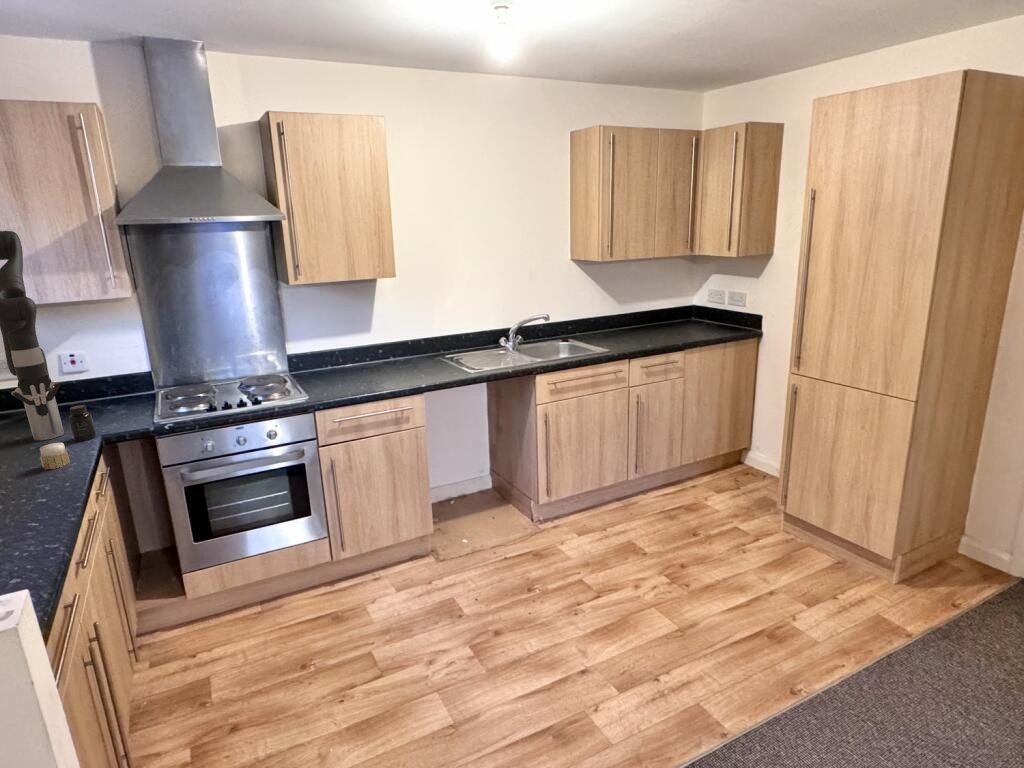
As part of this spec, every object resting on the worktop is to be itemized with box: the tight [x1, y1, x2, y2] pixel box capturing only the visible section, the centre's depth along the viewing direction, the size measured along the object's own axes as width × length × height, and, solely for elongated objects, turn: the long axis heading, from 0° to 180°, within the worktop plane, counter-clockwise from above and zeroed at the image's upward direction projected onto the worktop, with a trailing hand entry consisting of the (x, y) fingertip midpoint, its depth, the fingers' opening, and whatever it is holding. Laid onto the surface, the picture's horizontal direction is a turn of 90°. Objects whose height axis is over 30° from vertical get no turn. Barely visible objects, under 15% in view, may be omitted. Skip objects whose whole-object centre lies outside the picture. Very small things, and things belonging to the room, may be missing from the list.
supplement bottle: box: [68, 404, 97, 442], centre depth 222 cm, size 7×7×12 cm
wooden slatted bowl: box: [39, 449, 71, 470], centre depth 199 cm, size 7×7×4 cm
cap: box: [39, 442, 67, 457], centre depth 199 cm, size 6×6×5 cm
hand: (43, 415), depth 195 cm, fingers closed
